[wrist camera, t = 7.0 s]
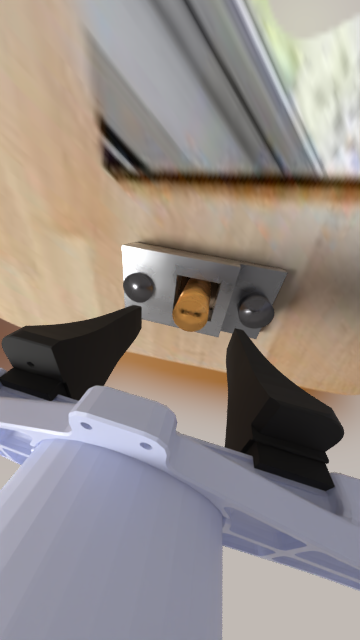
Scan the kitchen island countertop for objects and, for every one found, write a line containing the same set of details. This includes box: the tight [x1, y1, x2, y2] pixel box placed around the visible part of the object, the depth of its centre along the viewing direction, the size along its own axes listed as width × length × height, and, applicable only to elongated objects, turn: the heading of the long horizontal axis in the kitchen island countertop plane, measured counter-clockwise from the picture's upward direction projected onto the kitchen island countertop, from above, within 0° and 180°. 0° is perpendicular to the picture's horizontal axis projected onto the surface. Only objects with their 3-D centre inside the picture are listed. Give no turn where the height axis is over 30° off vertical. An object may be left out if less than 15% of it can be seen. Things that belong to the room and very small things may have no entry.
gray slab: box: [122, 242, 287, 339], centre depth 18 cm, size 16×8×4 cm, turn 82°
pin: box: [172, 278, 211, 332], centre depth 17 cm, size 3×3×7 cm
